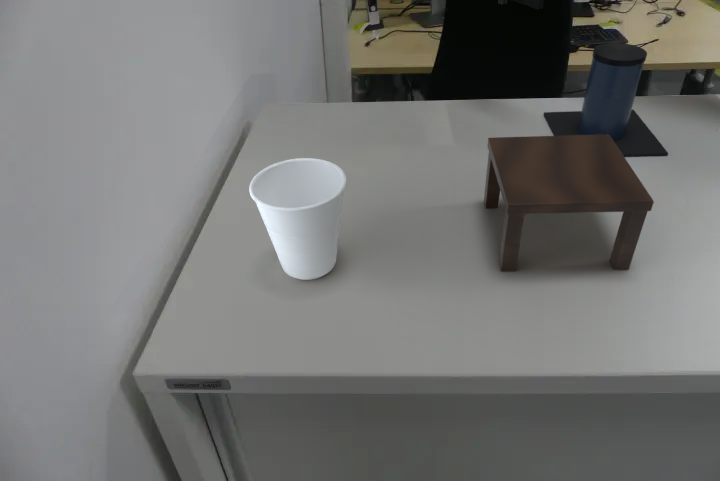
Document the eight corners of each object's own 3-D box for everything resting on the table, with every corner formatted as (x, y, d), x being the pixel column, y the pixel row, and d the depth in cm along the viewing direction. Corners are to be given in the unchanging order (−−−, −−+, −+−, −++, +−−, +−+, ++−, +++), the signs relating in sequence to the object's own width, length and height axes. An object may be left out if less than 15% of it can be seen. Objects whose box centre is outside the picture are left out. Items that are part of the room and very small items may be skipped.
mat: (632, 111, 89) (633, 109, 89) (667, 155, 78) (668, 153, 78) (543, 114, 90) (543, 112, 90) (565, 158, 79) (565, 155, 79)
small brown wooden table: (593, 197, 71) (609, 133, 65) (631, 270, 60) (654, 201, 54) (481, 200, 72) (488, 137, 66) (499, 272, 61) (508, 204, 55)
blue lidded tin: (617, 120, 86) (636, 41, 79) (632, 141, 81) (655, 59, 74) (572, 121, 87) (587, 43, 79) (584, 142, 81) (602, 61, 74)
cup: (250, 285, 61) (231, 202, 55) (286, 232, 69) (273, 153, 62) (336, 301, 59) (327, 215, 52) (363, 243, 66) (358, 162, 59)
